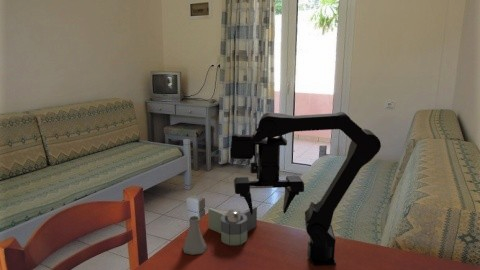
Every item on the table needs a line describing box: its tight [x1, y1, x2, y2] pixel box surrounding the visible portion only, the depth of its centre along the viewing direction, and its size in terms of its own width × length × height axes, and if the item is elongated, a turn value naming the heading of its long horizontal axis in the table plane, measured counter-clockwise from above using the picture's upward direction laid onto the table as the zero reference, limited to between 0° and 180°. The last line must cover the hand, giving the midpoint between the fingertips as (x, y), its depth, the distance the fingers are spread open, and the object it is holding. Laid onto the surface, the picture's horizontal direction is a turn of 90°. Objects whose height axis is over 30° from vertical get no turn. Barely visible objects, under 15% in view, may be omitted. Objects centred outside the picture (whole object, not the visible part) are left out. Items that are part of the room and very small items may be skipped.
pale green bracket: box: [207, 207, 248, 246], centre depth 112 cm, size 15×8×7 cm, turn 49°
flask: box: [182, 215, 208, 256], centre depth 104 cm, size 7×7×10 cm
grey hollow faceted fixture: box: [221, 205, 258, 235], centre depth 113 cm, size 15×8×7 cm, turn 139°
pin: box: [227, 208, 242, 222], centre depth 110 cm, size 4×4×9 cm
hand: (268, 213), depth 99 cm, fingers open, 9 cm apart
